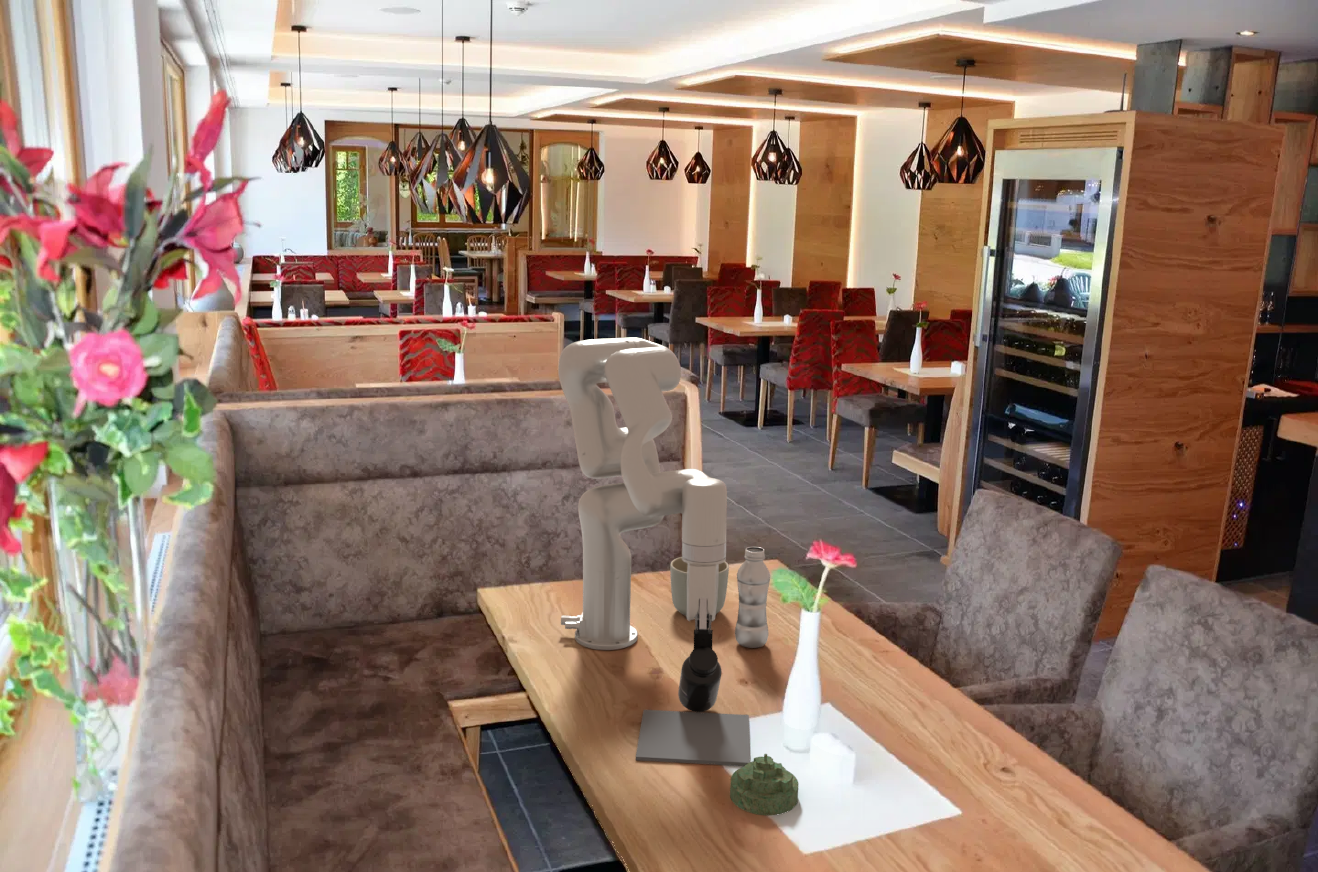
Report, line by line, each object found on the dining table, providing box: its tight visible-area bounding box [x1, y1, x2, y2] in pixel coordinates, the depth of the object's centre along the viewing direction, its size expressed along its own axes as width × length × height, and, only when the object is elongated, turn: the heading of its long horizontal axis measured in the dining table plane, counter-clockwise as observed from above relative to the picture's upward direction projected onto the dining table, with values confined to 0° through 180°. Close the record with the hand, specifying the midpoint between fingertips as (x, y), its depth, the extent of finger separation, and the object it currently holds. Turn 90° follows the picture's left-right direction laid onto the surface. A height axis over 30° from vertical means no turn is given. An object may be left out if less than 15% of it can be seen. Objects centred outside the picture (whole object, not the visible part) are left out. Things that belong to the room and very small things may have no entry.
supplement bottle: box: [677, 646, 722, 713], centre depth 182 cm, size 7×7×12 cm
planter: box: [669, 556, 730, 617], centre depth 228 cm, size 12×12×11 cm
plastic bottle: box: [734, 546, 771, 649], centre depth 210 cm, size 6×7×20 cm
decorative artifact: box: [729, 753, 799, 816], centre depth 158 cm, size 10×7×10 cm
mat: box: [635, 709, 751, 767], centre depth 175 cm, size 18×16×1 cm
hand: (703, 653), depth 184 cm, fingers closed
